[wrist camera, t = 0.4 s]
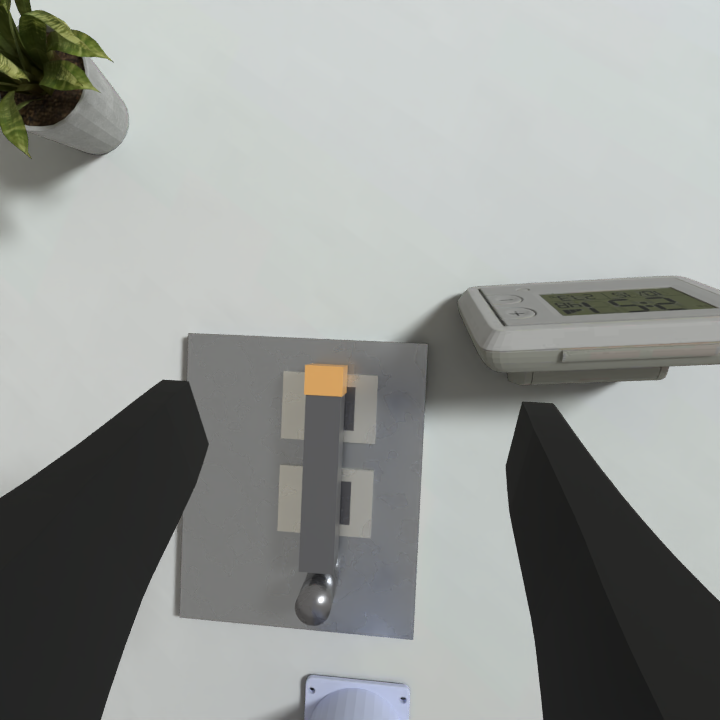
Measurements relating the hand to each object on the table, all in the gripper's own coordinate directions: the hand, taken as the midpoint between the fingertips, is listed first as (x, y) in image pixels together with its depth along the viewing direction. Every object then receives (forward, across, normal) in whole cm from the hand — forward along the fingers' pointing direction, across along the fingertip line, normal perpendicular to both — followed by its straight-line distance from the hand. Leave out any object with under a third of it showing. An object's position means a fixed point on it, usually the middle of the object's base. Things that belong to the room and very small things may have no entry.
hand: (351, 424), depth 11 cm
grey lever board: (+15, +6, +22) cm, 28 cm away
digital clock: (+23, -12, +12) cm, 29 cm away
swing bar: (+15, +5, +20) cm, 25 cm away
